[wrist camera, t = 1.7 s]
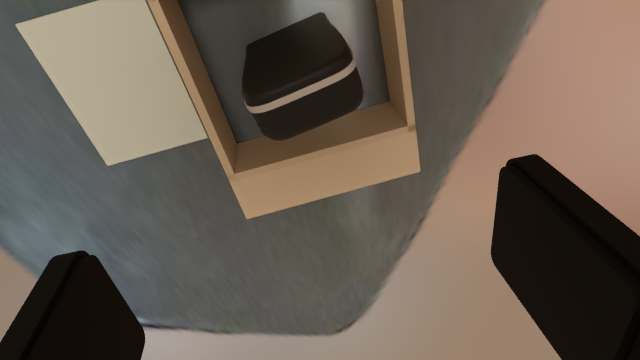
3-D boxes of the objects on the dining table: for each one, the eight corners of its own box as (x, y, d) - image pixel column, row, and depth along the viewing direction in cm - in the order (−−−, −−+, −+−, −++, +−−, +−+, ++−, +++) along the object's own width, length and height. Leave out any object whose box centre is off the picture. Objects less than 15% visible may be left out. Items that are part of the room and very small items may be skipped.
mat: (141, -13, 28) (139, -12, 27) (208, 135, 35) (207, 137, 34) (18, 23, 28) (14, 24, 28) (109, 162, 35) (107, 165, 34)
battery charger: (263, 88, 33) (267, 159, 24) (241, 45, 31) (236, 104, 21) (342, 54, 32) (378, 113, 23) (325, 8, 30) (357, 51, 21)
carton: (362, -156, 25) (383, -169, 21) (402, 143, 38) (420, 171, 34) (131, -88, 25) (107, -88, 21) (247, 185, 38) (246, 219, 34)
